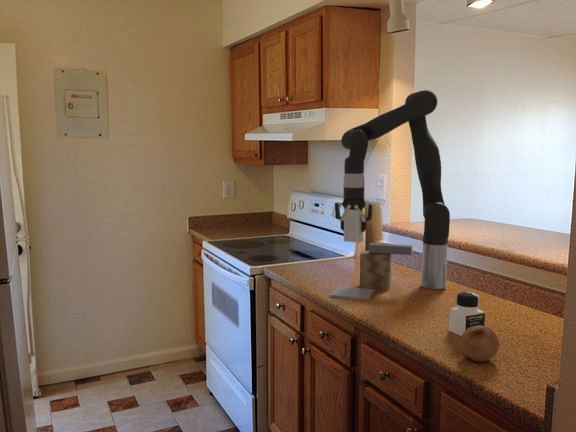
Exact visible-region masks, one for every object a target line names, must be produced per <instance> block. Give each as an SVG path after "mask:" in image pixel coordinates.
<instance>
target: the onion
mask: <svg viewBox="0 0 576 432" xmlns="http://www.w3.org/2000/svg"><path fill="white" fill-rule="evenodd" d="M459 344H460V348H461V350H462V352H463V355H464V356H465V357H467V358H468V359H470V360H472V361H474V362H479V363H484V362H487V361H489V360H491V359H492V358H493V357H495V356H496V354H497V353H498V350H499V347H500V340H499V337H498V336H497V334H496V332H495V331H494V330H493V329H492V328H490V327H488V326H485V325H484V326H481V325H477V326H471V327H470V328H468V329H467V330H465V331H464V333H463V334H462V336H460V343H459Z"/></svg>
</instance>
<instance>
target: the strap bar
mask: <svg viewBox="0 0 576 432" xmlns="http://www.w3.org/2000/svg"><path fill="white" fill-rule="evenodd" d="M413 247H414V246H413V244H411V245H409V244H396V243H395V244H393V243H377V242H370V243H369V244H368V251H369V253H384V254H391V255H400V256H401V255H402V256H403V255H405V256H412V255H413V251H414V250H413Z"/></svg>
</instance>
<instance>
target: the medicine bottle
mask: <svg viewBox="0 0 576 432" xmlns="http://www.w3.org/2000/svg"><path fill="white" fill-rule="evenodd" d="M456 295H457V296H456V307H450V308H449V323H448V324H449V325H448V331H449V332H451V333H453V334H455V335H457V336H459V337H461V336H462V334H463V333H464V331H465V330H467V329H468V328H470V327H471V326H477V325H481V326H485V324H486V323H485V320H486V318H485V317H486V312H485V311H484V310H482V309H479V303H480V302H479V301H480V296H479V294H476V293H474V292H470V291H462V292H459V293H458V294H456Z"/></svg>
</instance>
